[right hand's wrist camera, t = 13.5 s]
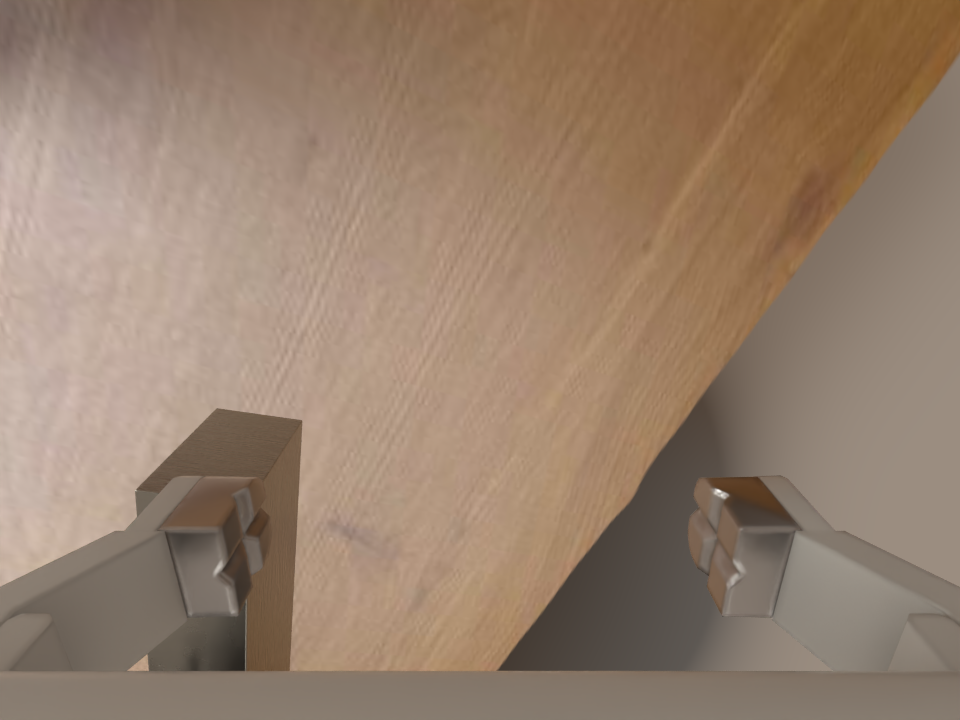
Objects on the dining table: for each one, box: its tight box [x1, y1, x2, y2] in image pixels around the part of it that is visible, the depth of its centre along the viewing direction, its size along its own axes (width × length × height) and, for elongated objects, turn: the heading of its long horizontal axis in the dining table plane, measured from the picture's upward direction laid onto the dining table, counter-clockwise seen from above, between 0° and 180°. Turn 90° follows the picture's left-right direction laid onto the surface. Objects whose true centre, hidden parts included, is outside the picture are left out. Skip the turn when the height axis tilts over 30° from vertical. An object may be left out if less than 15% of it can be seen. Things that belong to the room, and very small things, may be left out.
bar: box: [135, 408, 302, 671], centre depth 31 cm, size 23×5×8 cm, turn 171°
